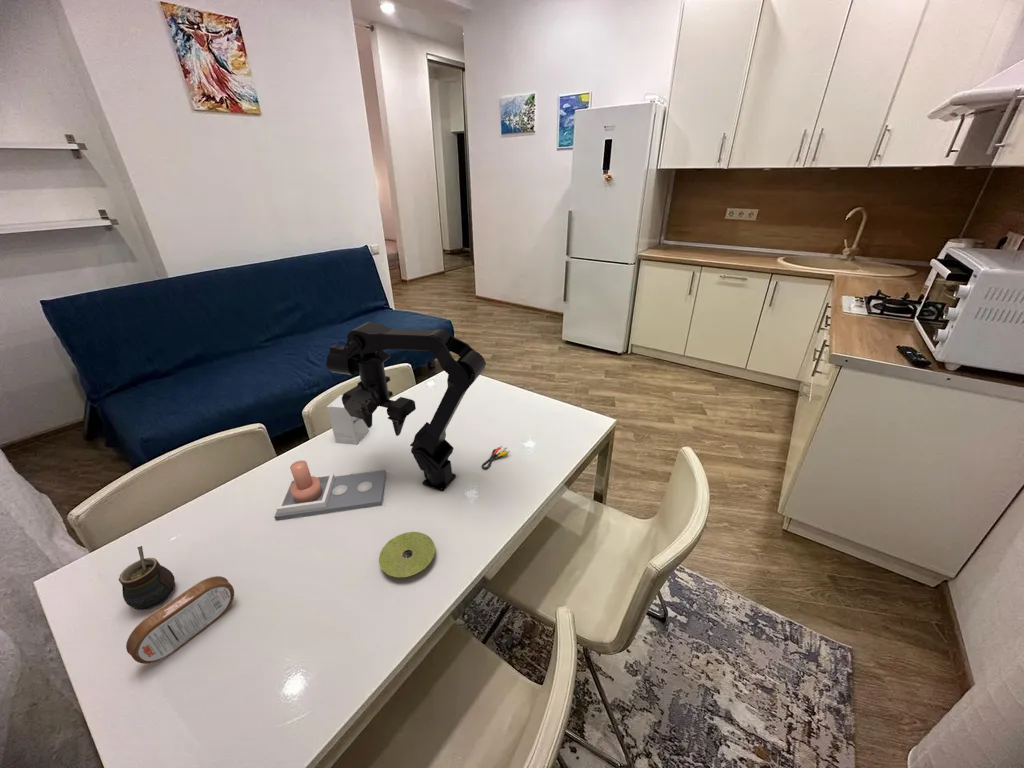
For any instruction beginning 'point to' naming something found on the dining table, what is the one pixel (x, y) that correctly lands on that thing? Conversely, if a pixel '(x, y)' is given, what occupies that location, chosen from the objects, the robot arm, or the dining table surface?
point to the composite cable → (495, 456)
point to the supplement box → (345, 423)
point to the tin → (180, 620)
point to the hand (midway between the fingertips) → (383, 431)
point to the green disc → (407, 554)
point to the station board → (336, 495)
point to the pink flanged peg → (304, 483)
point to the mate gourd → (146, 583)
